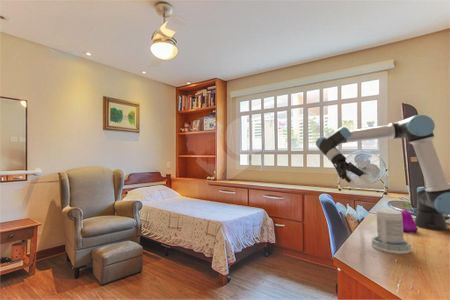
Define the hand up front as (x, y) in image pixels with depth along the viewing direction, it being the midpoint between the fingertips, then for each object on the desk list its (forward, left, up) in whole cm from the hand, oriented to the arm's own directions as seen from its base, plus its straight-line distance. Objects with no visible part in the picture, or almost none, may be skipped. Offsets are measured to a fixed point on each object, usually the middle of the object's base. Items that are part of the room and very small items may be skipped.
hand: (362, 185), depth 129 cm
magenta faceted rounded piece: (-28, -5, -25) cm, 39 cm away
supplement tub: (+2, +20, -24) cm, 31 cm away
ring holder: (+2, +20, -25) cm, 32 cm away
